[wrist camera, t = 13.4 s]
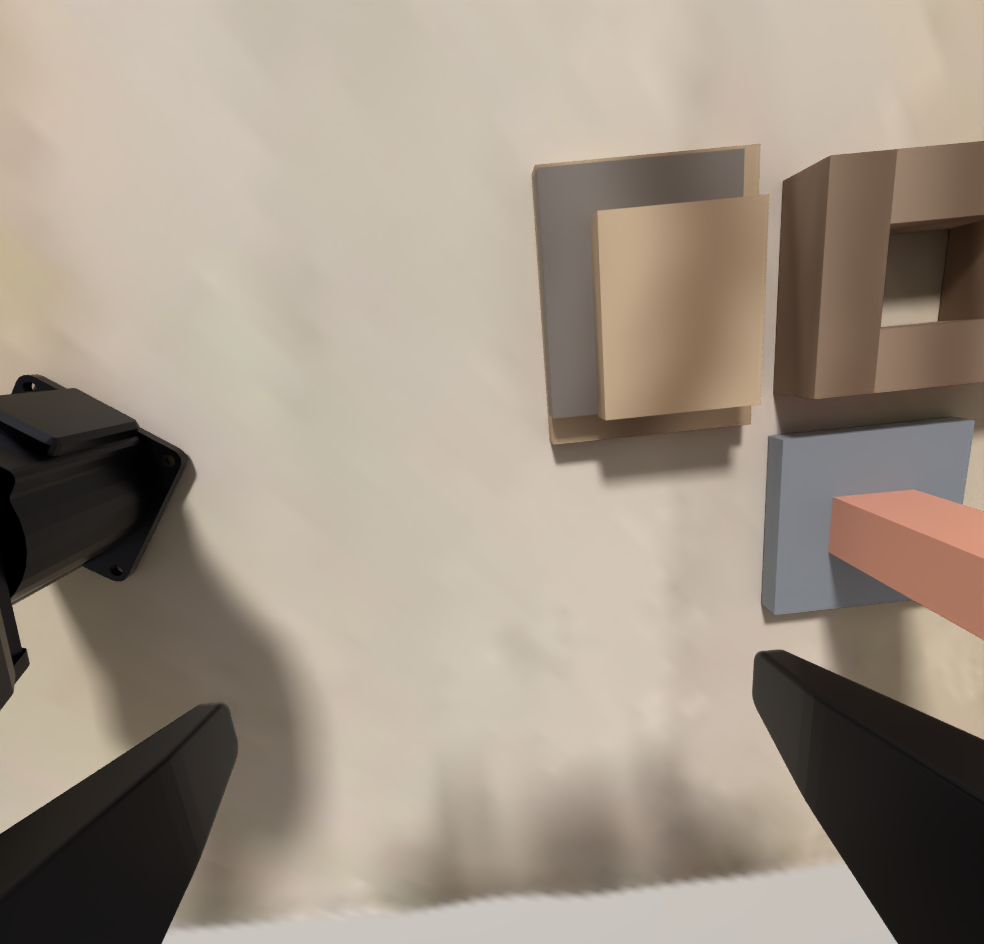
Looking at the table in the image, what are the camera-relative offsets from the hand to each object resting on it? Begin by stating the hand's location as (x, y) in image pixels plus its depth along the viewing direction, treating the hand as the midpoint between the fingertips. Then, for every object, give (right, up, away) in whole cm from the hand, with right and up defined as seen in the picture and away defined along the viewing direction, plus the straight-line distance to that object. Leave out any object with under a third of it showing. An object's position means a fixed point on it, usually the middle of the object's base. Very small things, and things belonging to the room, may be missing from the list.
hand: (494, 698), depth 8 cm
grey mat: (+16, +2, +14) cm, 21 cm away
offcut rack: (+11, +11, +11) cm, 19 cm away
